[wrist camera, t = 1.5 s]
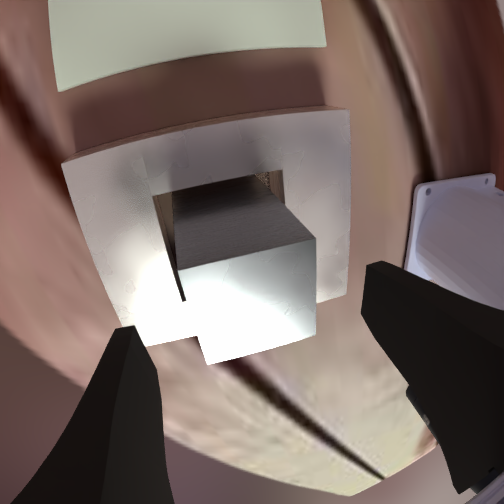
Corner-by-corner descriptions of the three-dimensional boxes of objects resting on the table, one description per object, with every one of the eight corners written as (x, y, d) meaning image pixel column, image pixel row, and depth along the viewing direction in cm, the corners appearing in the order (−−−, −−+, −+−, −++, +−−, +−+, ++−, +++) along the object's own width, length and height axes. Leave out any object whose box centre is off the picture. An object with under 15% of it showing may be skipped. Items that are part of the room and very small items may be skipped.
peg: (254, 174, 15) (316, 238, 9) (262, 245, 17) (315, 335, 11) (171, 191, 14) (177, 270, 8) (188, 262, 16) (207, 364, 10)
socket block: (325, 105, 14) (349, 109, 12) (329, 273, 19) (346, 294, 17) (75, 152, 12) (61, 163, 10) (135, 321, 17) (134, 348, 15)
